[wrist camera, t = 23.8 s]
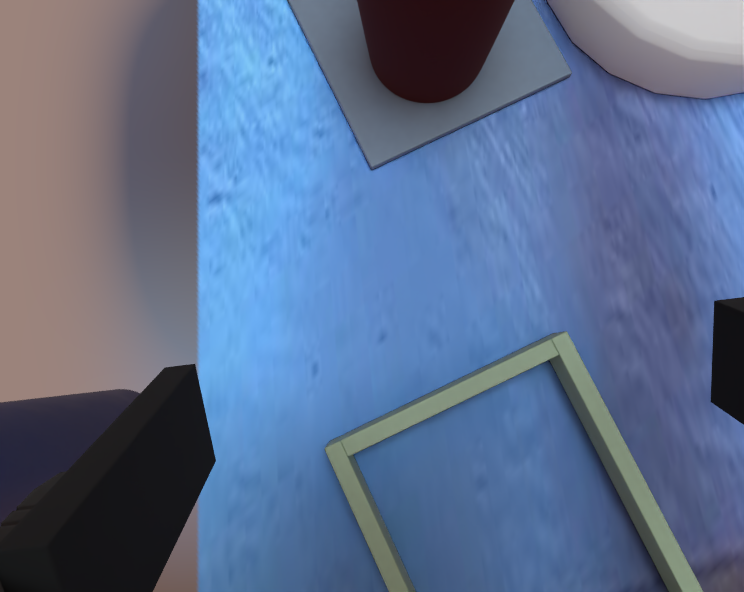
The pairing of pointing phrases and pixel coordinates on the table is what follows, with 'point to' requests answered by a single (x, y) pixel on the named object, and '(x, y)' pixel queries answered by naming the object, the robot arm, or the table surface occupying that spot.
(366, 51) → the mat
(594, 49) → the container
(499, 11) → the mug
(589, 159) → the table surface
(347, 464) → the green rectangular frame
